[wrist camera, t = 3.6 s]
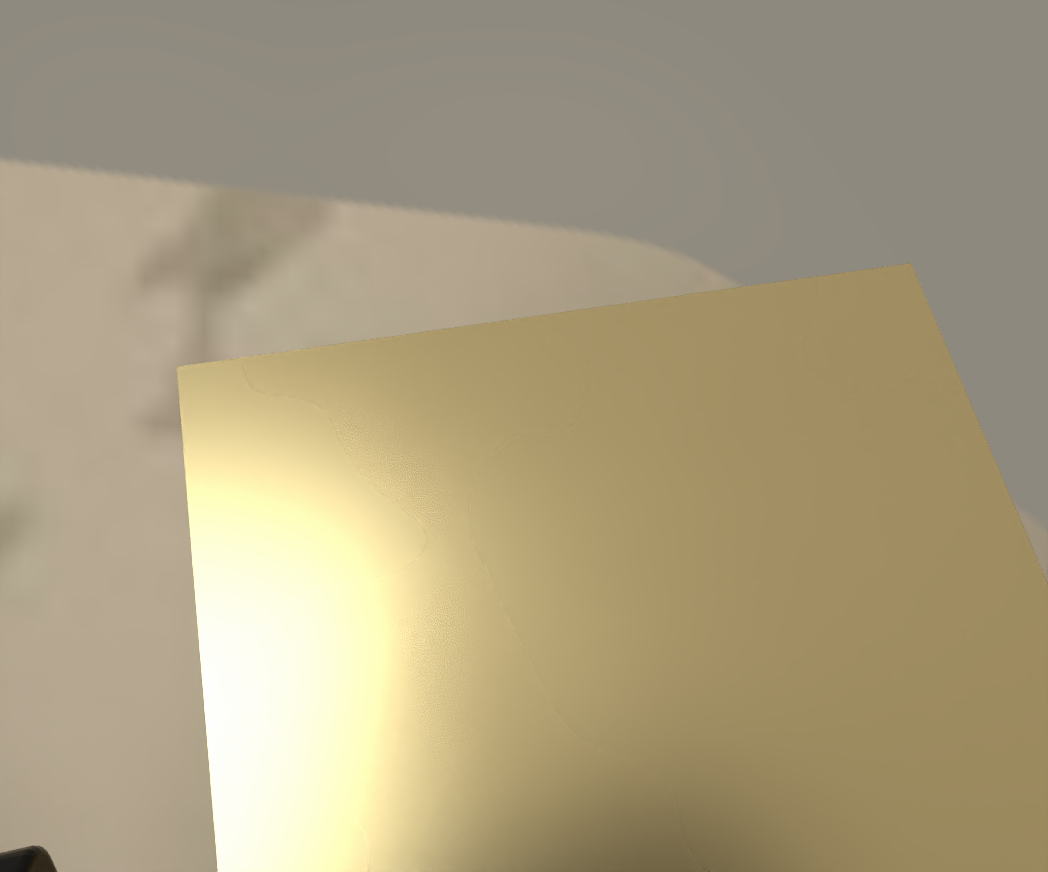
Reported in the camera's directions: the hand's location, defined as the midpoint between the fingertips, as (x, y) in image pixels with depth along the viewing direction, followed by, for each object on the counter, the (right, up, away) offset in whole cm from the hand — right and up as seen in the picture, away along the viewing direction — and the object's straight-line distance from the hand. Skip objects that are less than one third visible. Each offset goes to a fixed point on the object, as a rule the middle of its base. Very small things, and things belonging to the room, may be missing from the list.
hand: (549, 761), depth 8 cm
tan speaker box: (-1, -3, +7) cm, 8 cm away
